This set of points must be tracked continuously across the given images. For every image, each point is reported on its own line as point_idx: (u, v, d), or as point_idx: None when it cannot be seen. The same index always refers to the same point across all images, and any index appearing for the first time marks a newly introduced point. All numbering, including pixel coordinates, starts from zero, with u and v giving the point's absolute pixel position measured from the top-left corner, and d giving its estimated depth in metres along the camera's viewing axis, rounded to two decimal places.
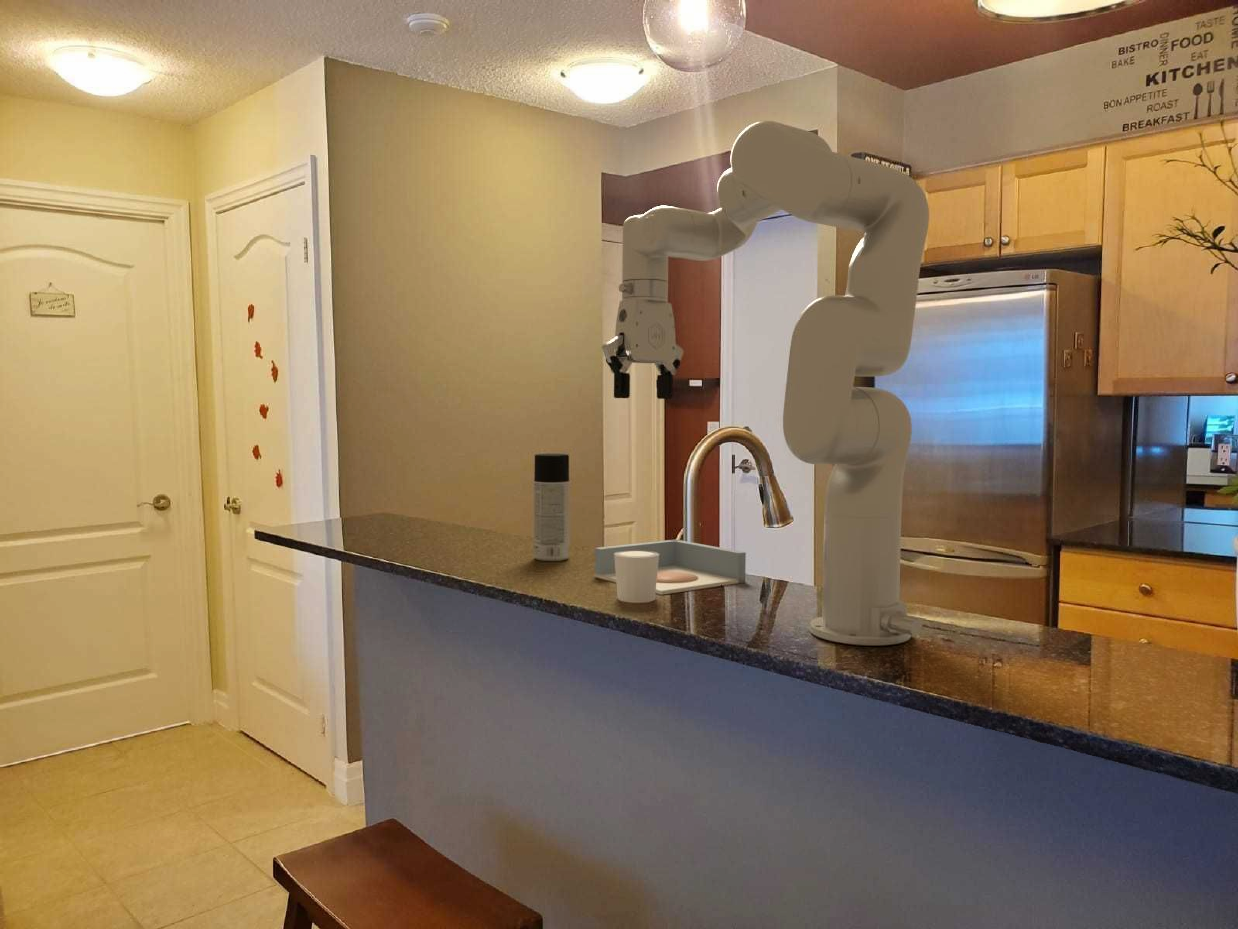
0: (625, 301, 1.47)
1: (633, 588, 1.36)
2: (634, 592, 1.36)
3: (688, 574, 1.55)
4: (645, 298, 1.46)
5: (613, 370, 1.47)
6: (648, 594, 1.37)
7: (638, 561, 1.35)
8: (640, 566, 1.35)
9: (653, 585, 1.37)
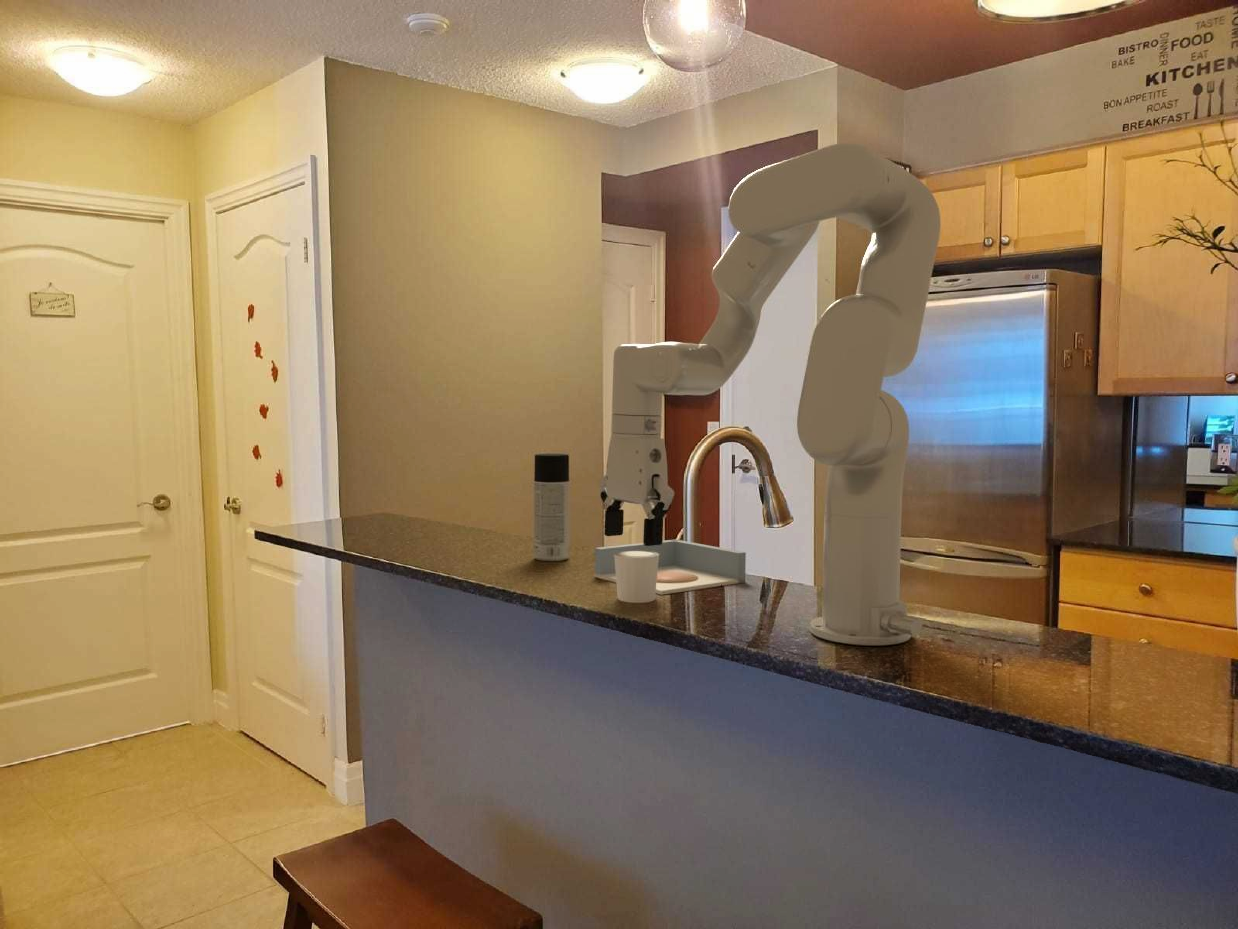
0: (655, 440, 1.34)
1: (633, 588, 1.36)
2: (634, 592, 1.36)
3: (688, 574, 1.55)
4: None
5: (656, 516, 1.33)
6: (648, 594, 1.37)
7: (638, 561, 1.35)
8: (640, 566, 1.35)
9: (653, 585, 1.37)
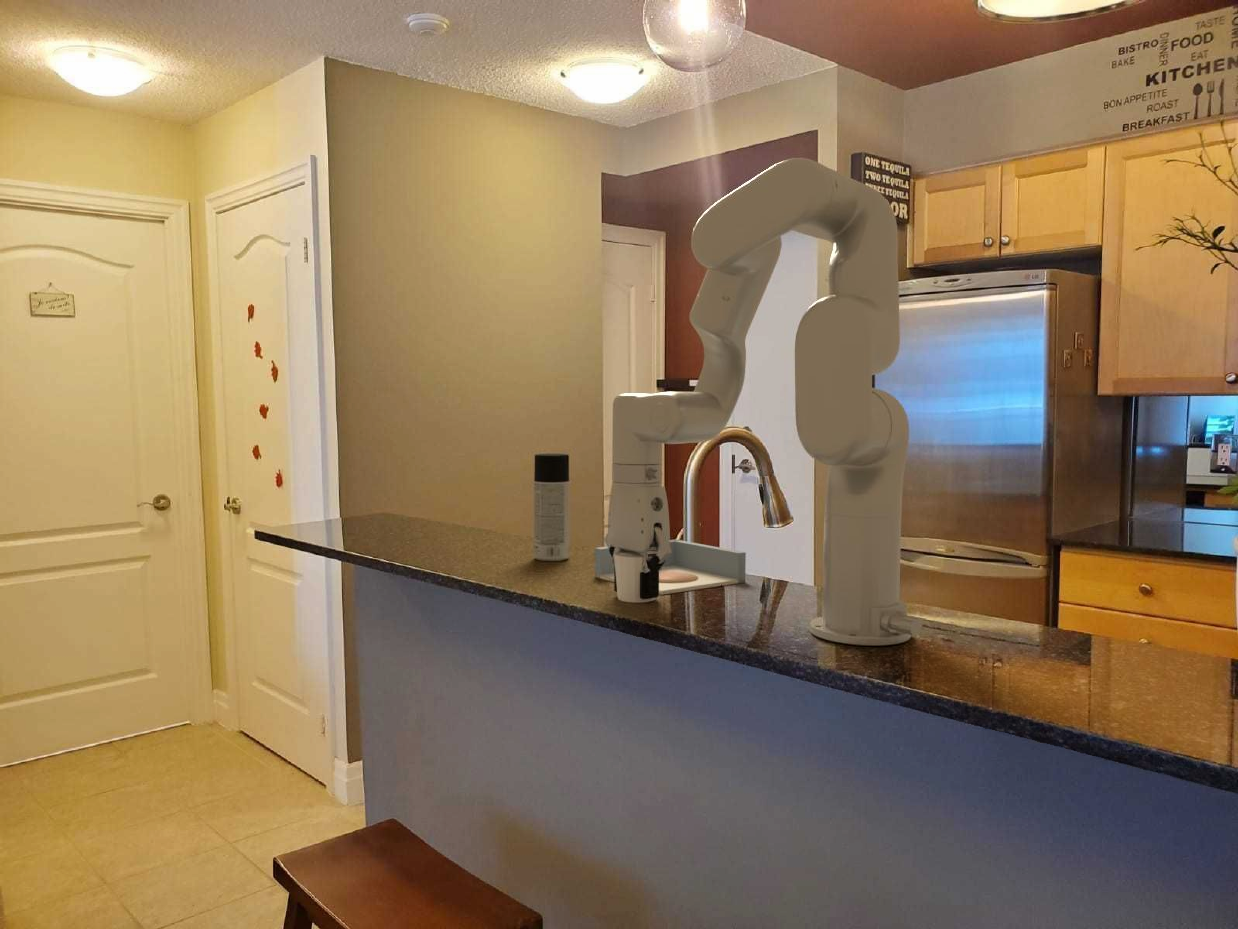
0: (656, 488, 1.34)
1: (633, 588, 1.36)
2: (634, 592, 1.36)
3: (688, 574, 1.55)
4: (661, 483, 1.38)
5: (652, 570, 1.35)
6: None
7: (638, 561, 1.35)
8: (640, 566, 1.35)
9: None
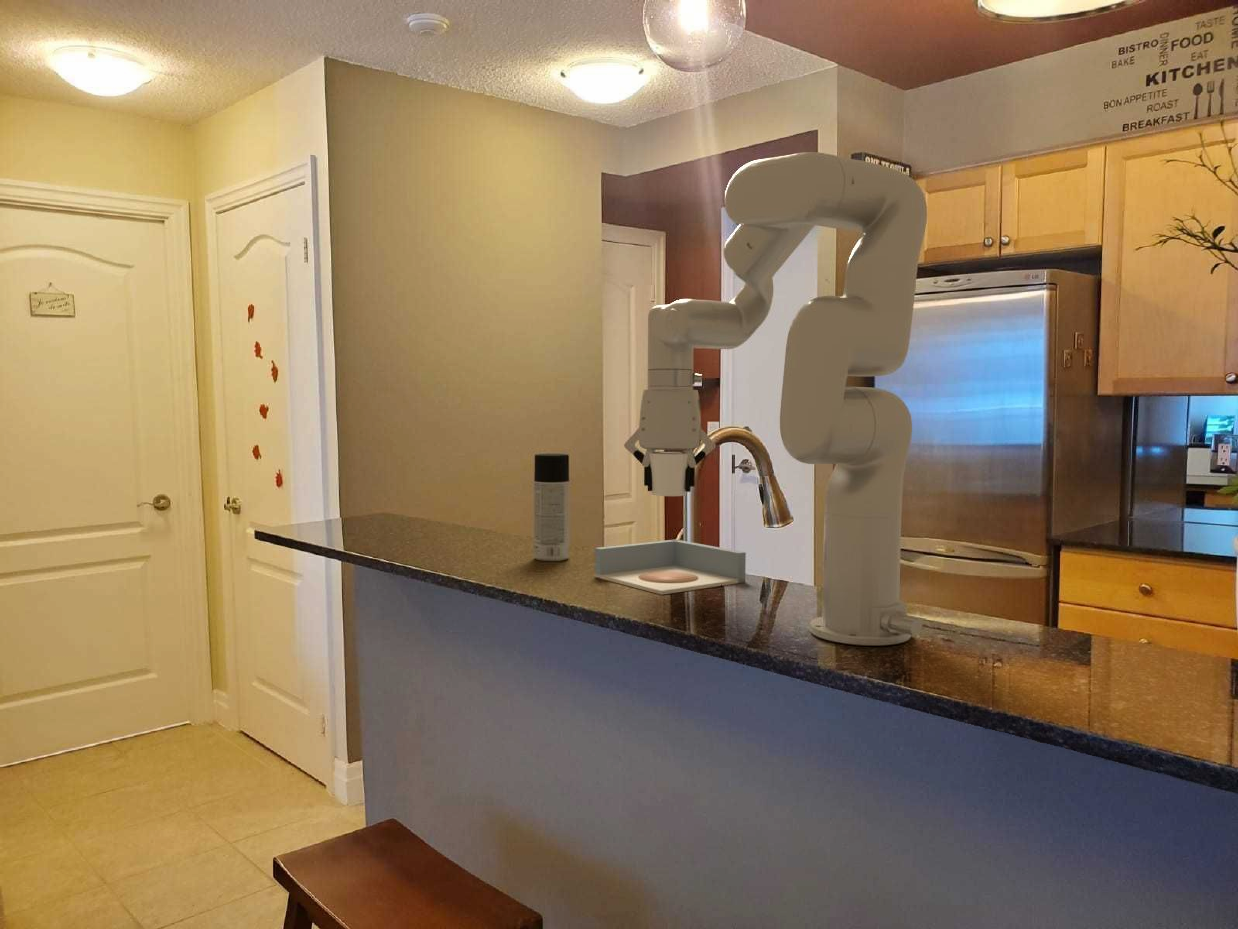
0: (697, 391, 1.51)
1: (680, 483, 1.50)
2: (680, 486, 1.50)
3: (688, 574, 1.55)
4: None
5: (696, 464, 1.51)
6: None
7: (685, 458, 1.50)
8: (686, 462, 1.50)
9: None
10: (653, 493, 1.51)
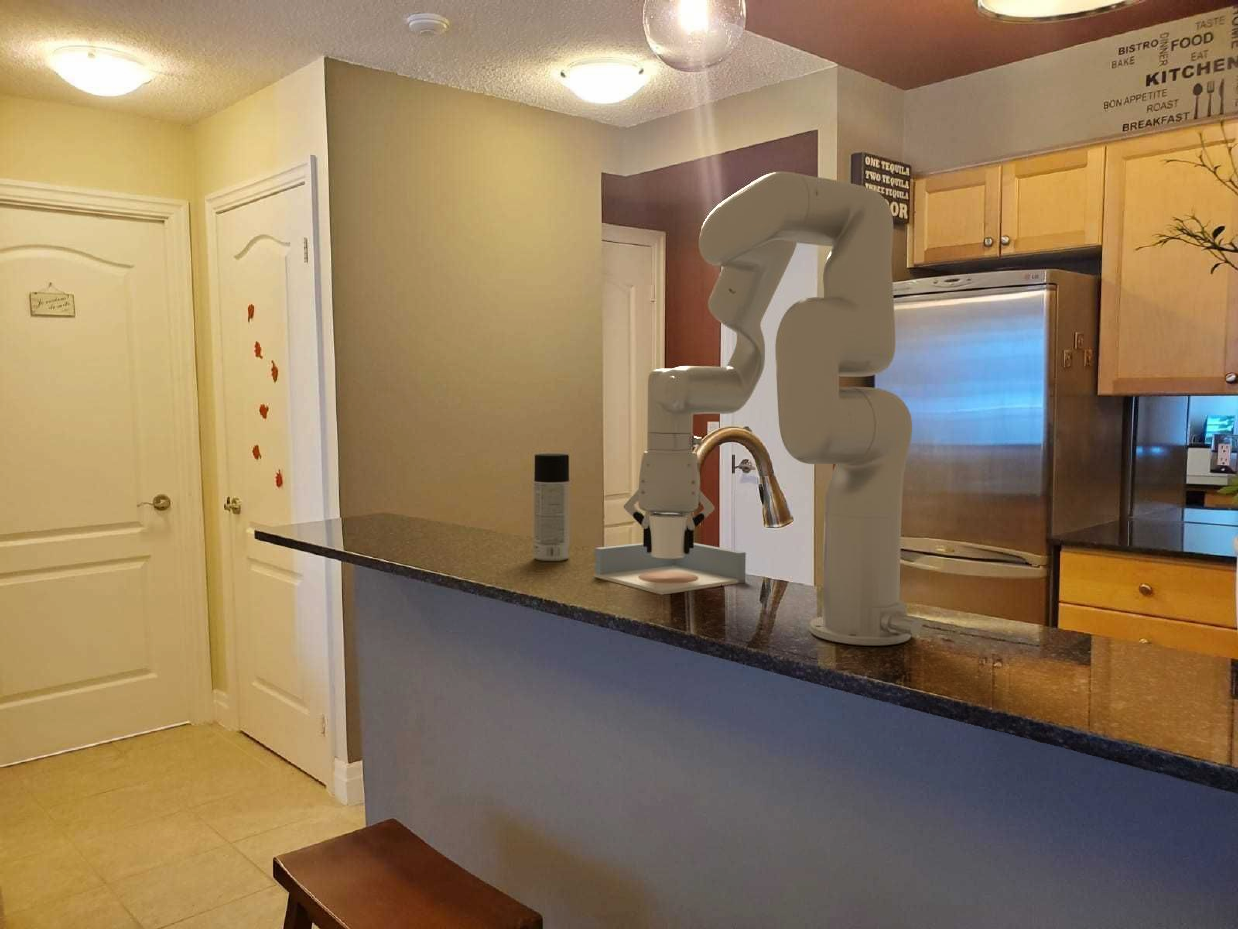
0: (696, 454, 1.51)
1: (679, 545, 1.50)
2: (679, 548, 1.51)
3: (688, 574, 1.55)
4: None
5: None
6: None
7: (684, 520, 1.50)
8: (685, 524, 1.51)
9: None
10: (652, 555, 1.52)
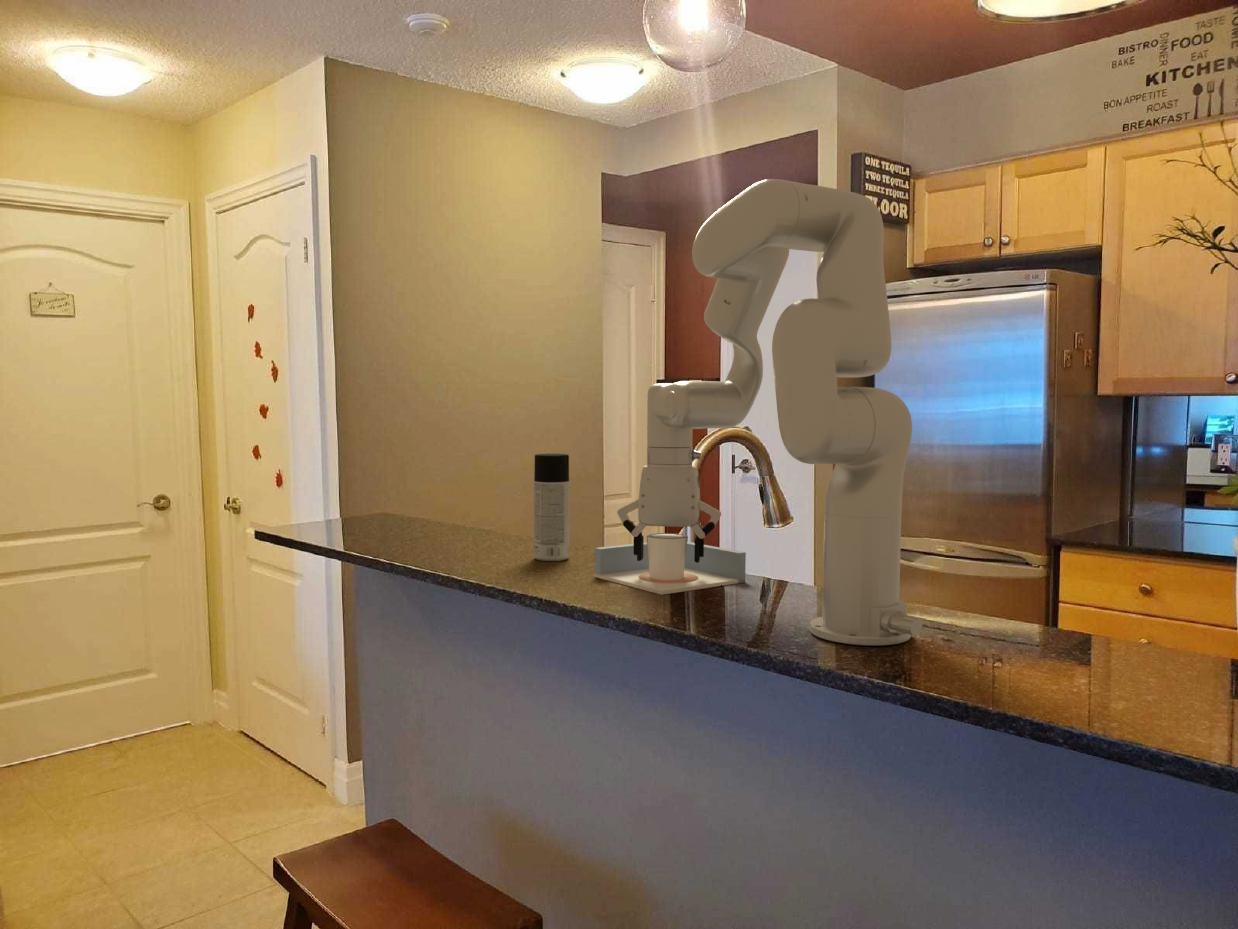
0: (696, 468, 1.52)
1: (678, 567, 1.50)
2: (678, 570, 1.51)
3: (688, 574, 1.55)
4: None
5: (705, 535, 1.51)
6: None
7: (683, 542, 1.50)
8: (683, 546, 1.51)
9: None
10: (651, 576, 1.52)
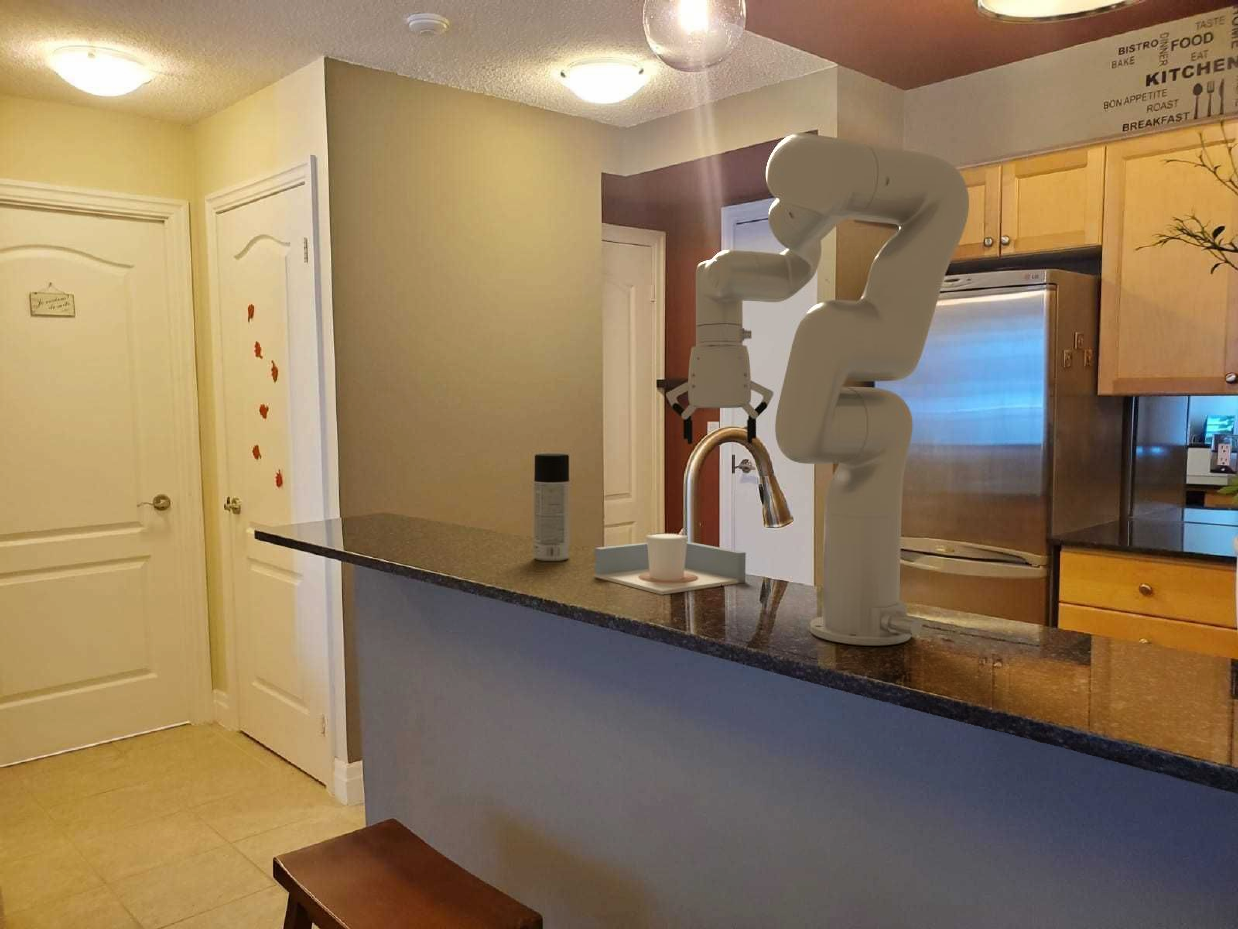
0: (746, 347, 1.48)
1: (678, 567, 1.50)
2: (678, 570, 1.51)
3: (688, 574, 1.55)
4: None
5: None
6: None
7: (683, 542, 1.50)
8: (683, 546, 1.51)
9: None
10: (651, 576, 1.52)
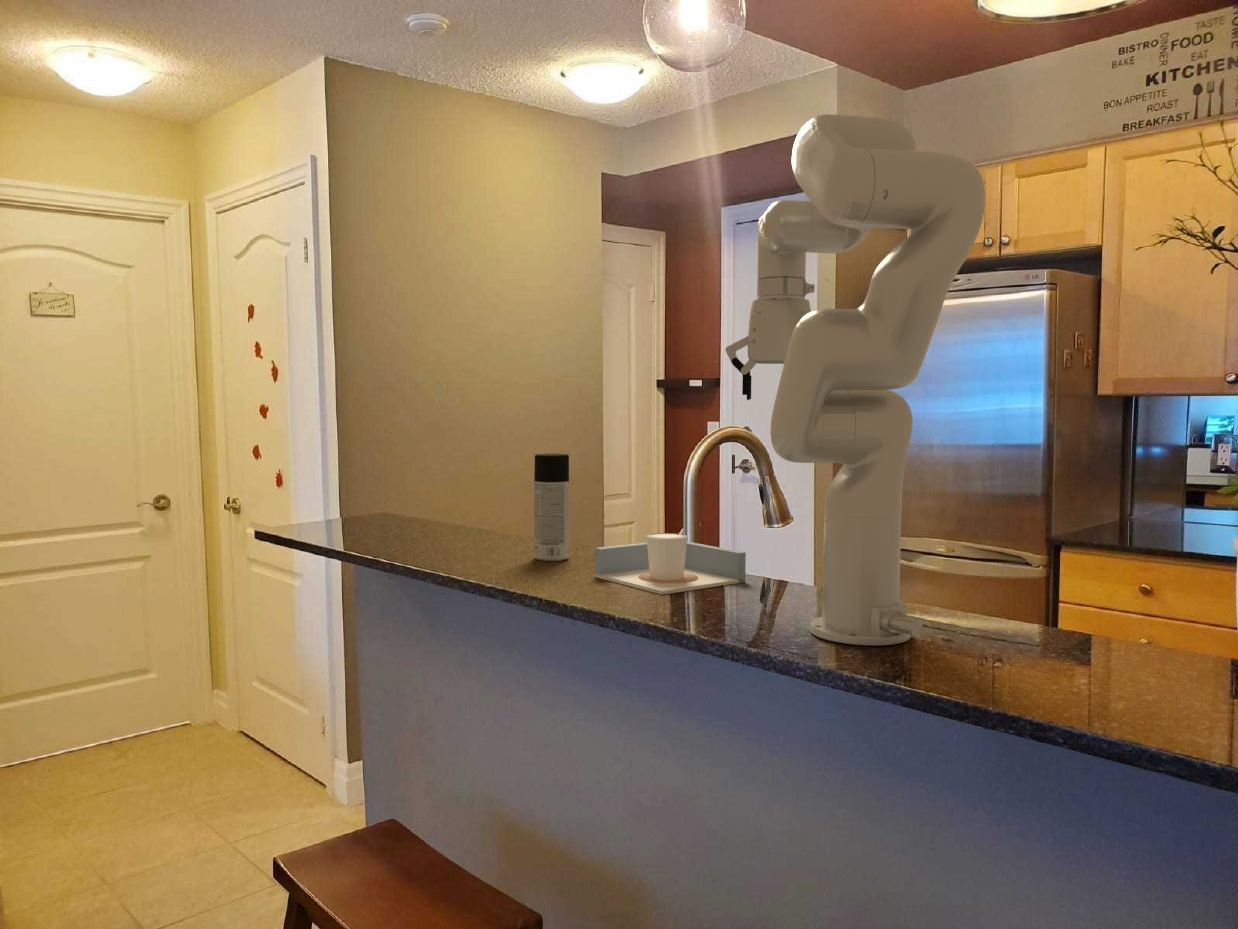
0: None
1: (678, 566, 1.50)
2: (678, 570, 1.51)
3: (688, 574, 1.55)
4: None
5: None
6: None
7: (683, 541, 1.50)
8: (683, 545, 1.51)
9: None
10: (651, 576, 1.52)
